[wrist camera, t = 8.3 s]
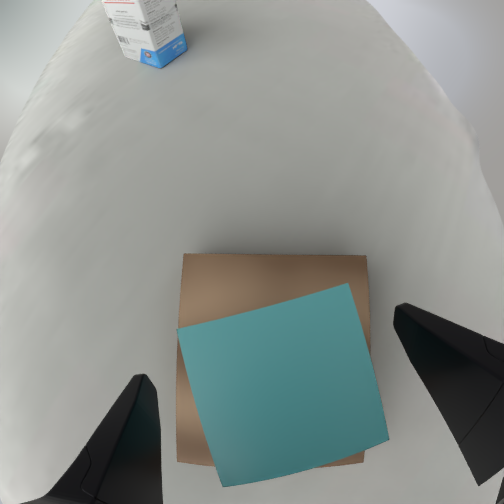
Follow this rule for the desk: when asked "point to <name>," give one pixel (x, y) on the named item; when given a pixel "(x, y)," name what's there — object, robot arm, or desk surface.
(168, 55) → the ink box
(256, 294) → the walnut stand
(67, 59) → the desk surface
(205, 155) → the desk surface
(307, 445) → the teal tall block
